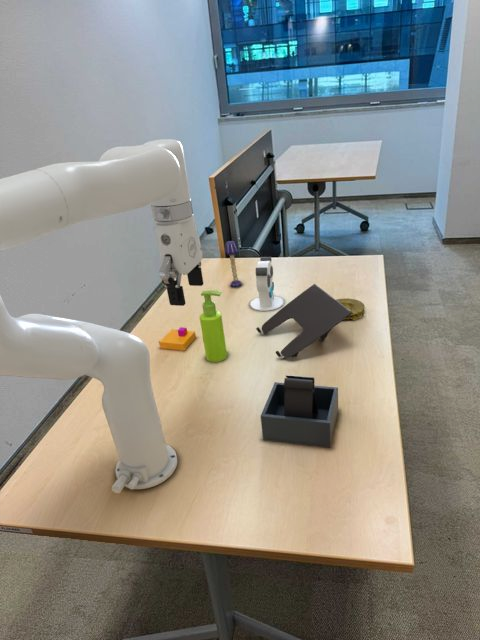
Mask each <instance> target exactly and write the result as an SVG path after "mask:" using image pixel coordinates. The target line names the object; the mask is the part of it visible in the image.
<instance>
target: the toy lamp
mask: <svg viewBox="0 0 480 640" xmlns="http://www.w3.org/2000/svg"><path fill="white" fill-rule="evenodd" d="M224 249H225V250H224V254H225V255H228V256H229V260H230V267H231V273H232V279H233V280H232V281H231V283H230V287H231V288H234V289H235V288H240V287H242V285H243V284H242V281H241V280H239V278H238V273H237V266H236V261H235V260H236V258H235V255H236V254H238V252H239V251H238V250H239V249H238V248H237V245H236V242H235V241H234V240H228V241H226V243H225V248H224Z"/></svg>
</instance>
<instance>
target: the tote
mask: <svg viewBox="0 0 480 640" xmlns="http://www.w3.org/2000/svg"><path fill="white" fill-rule="evenodd" d="M315 393H316V399H317V406H318V413H317V417H316V419H307V418H297V417H287V416H284V403H285V389H284V382H280V381H279V382H277V381H274V383H273V385H272V388H271V390H270V392H269V394H268V397H267V399H266V402H265V405H264V406H263V409H262V412H261V414H260V423H261V424H260V425H261V434H262V441H270V442H277V443H287V444H294V445H302V446H303V445H304V446H312V447H319V448H320V447H321V448H329V449H330V448H331V446H332V441H333V437H334V432H335V429H336V423H337V419H338V418H337V417H338V413H339V387H336V386H325V385H315Z"/></svg>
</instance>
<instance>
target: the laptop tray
mask: <svg viewBox="0 0 480 640" xmlns="http://www.w3.org/2000/svg"><path fill="white" fill-rule="evenodd" d="M351 314H352V312H351V311H350V310H348V309H347V308H346V307H344V306H343V305H342V304H341V303H339V302H338V301H337V300H336V299H335V298H334V297H333V296H332V295H330V294H329V293H328V292H326V291H325V290H324V289H322V288H321V287H320V286H319V285H317V284H316V283H313V284H312V285H311V286H310V287H308V288H307V289H305V290H304V291H303V292H301V293H299V295H297V296H296V297H294V298H293V299H292V300H291V301H289V302H288V303H286V305H284V306H283V307H281V308H280V309H279V310H278V311H277V312H276V313H274V314H272V316H271V317H270V318H269V319H267V320H266V321H265V322H264V323H263V324H262V325H261V329H260V327H259V326H258V327H256V328H255V329H256V331H257V333H258V334H259V335H261V336H262V335H264V334H268V333H269V332H271V331H273V330H275V329H276V328H278V327H279V326H281V325H282V324H284V323H285V322H287V321H288V320H294V321H295V322H296V323H297V324H298V325H299V326H300V327H301V328H302V331H301V332H300V333H299V334H298V335H297V336H296V337H294V338H293V339H292V340H290V342H288V344H286V345H285V346H284V347H283V348H282V349H281V351H279V350H276V351H275V354H276V356H277V357H278V358H279V359H285V358H288V359H289V358H292V359H294V358H297V357H298V355H299V353H300V352H302V351H303V350H304V349H306V348H307V347H309V346H310V345H312V344H313V343H314V342H316V341H318V340H319V339H320V341H321V342H324V341H325V340H326V338H327V337H328V336H329V334H330V332H331V331H332V330H333V329H334V328H335V327H336V326H337V325H339V324H340V323H342V322H343V321H344V320H346V319H345V318H346V317H348V316H349V315H351Z"/></svg>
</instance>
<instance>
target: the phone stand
mask: <svg viewBox="0 0 480 640" xmlns="http://www.w3.org/2000/svg"><path fill="white" fill-rule="evenodd" d="M283 383H284V389H285V403H284V416H287V417H297V418H307V419H316V417H317V413H318V406H317V399H316V393H315V386H316V385H315V377H314V376H303V375H290V374H289V375H288V374H285V377H284V380H283Z"/></svg>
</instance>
